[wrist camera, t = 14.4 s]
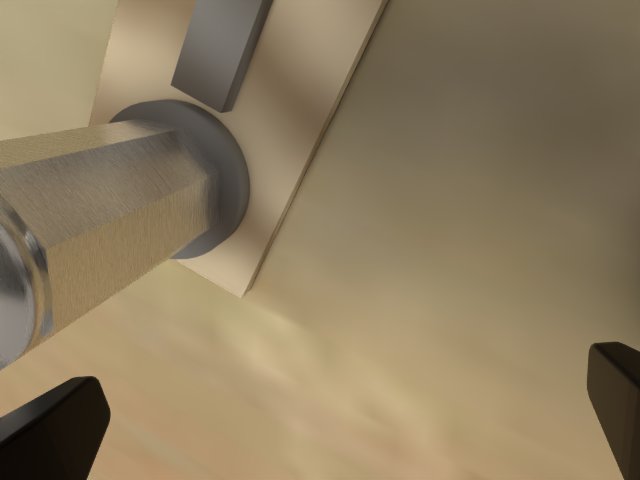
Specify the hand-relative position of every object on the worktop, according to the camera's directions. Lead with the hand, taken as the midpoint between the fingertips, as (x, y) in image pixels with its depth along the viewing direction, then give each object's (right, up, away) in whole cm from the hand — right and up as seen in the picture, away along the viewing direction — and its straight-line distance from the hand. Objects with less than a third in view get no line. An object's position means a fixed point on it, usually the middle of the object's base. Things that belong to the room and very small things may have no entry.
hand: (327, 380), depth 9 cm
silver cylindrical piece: (-7, +5, +12) cm, 15 cm away
